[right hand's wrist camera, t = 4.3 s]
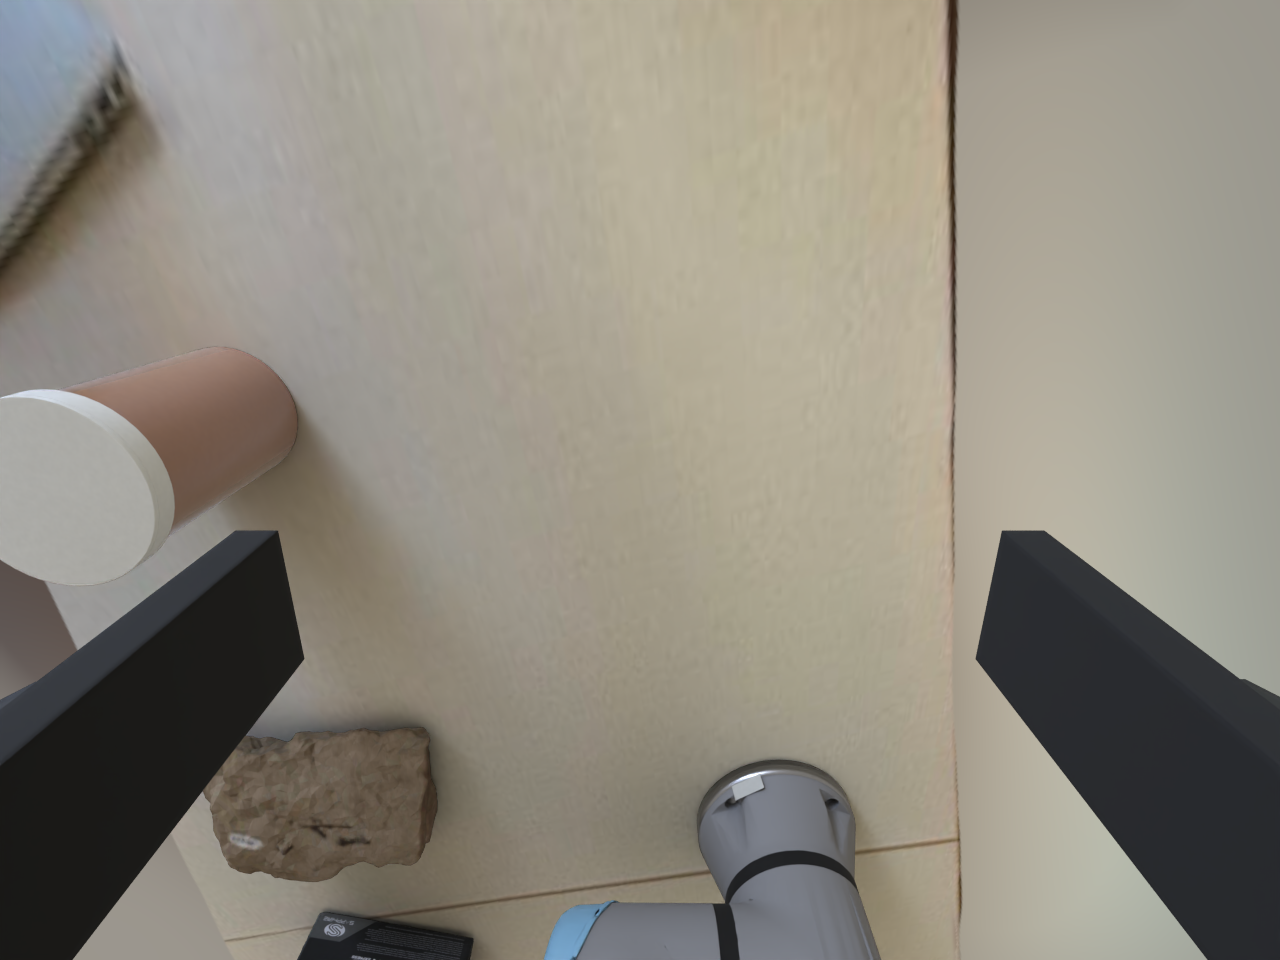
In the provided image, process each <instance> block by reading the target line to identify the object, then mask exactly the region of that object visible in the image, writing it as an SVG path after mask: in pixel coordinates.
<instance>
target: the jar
mask: <svg viewBox="0 0 1280 960" xmlns="http://www.w3.org/2000/svg"><path fill="white" fill-rule="evenodd" d="M58 390H59V391H65V392H71V393H74V394H78V395H81V396H84V397H87V398H89V399H92V400H94V401H97V402H99V403H101V404H103V405H104V406H106V407H108V408H110V409H112V410H113V411H115V412H116V413H118V414H119V415H121V416H122V417H124V418H125V419H126V420H127V421H129V422H130V423H131V424H132V425H133V426H135V427H136V428H137V429H138V430H139V431H140V432H141V433H142V434H143V435H144V436H145V437H146V439H147V440H148V441H149V442H150V444H151V445H152V446H153V447H154V449H155V450H156V452H157V453H158V455H159V457H160V458H161V460H162V462H163V464H164V466H165V468H166V470H167V472H168V475H169V478H170V481H171V484H172V488H173V493H174V503H175V510H174V519H173V523H172V527H171V530H170V532H169V534H168V537H169V536H171V535H172V534H174V533H175V532H177V531H178V530H180V529H181V528H183V527H184V526H186V525H187V524H189V523H190V522H192V521H193V520H195V519H196V518H198V517H199V516H201V515H202V514H204V513H205V512H207V511H208V510H210V509H211V508H213V507H214V506H216V505H217V504H219V503H220V502H222V501H223V500H225V499H226V498H228V497H229V496H231V495H232V494H234V493H235V492H237V491H238V490H240V489H241V488H243V487H244V486H246V485H247V484H249V483H250V482H252V481H253V480H255V479H256V478H258V477H259V476H261V475H263V474H264V473H266V472H267V471H269V470H270V469H272V468H273V467H275V466H276V465H277V464H279V463H280V462H281V461H282V460H283V459H284V458H285V457H286V456H287V455H288V453H289V452H290V451H291V449H292V447H293V445H294V442H295V439H296V435H297V428H298V420H297V412H296V408H295V404H294V401H293V399H292V396H291V394H290V392H289V391H288V389H287V387H286V386H285V384H284V383H283V381H282V380H281V379H280V378H279V376H278V375H277V374H276V373H275V372H274V371H273V370H272V369H271V368H269V367H268V366H267V365H266V364H264V363H263V362H262V361H260V360H259V359H257V358H255V357H253V356H251V355H249V354H247V353H245V352H242V351H239V350H236V349H231V348H226V347H207V348H202V349H198V350H195V351H191V352H188V353H184V354H181V355H177V356H174V357H170V358H167V359H163V360H160V361H156V362H153V363H149V364H145V365H142V366H138V367H135V368H131V369H128V370H124V371H121V372H117V373H114V374H110V375H107V376H103V377H100V378H96V379H93V380H89V381H86V382H82V383H79V384H75V385H72V386H68V387H65V388H61V389H58ZM168 537H167V538H168Z"/></svg>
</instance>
